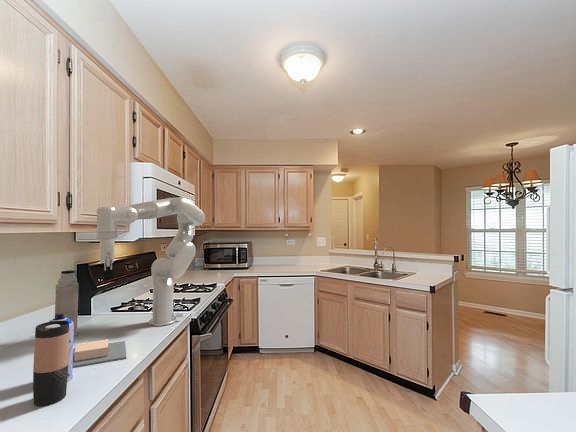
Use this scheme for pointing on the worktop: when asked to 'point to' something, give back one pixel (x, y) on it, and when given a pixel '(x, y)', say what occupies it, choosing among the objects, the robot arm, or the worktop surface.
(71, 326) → the aerosol can
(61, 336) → the travel mug
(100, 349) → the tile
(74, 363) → the mat
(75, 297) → the thermos bottle
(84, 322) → the worktop surface
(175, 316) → the robot arm
